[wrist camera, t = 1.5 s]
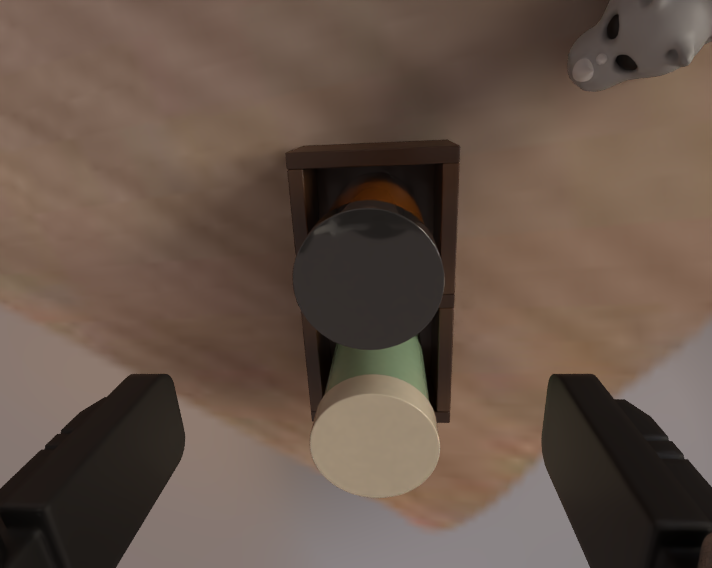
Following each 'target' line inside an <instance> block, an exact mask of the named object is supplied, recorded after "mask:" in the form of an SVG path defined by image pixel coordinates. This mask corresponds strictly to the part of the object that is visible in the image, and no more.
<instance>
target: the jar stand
mask: <svg viewBox="0 0 712 568" xmlns="http://www.w3.org/2000/svg"><path fill="white" fill-rule="evenodd" d="M459 162H460V146H459V145H457V144H455V143H453V142H451V141H449V140H428V141H405V142H382V143H359V144H336V145H312V146H302V147H299V148H297V149H294V150H292V151H289V152H287V153H286V164H287V169H289V170H288V171H287V172H288V182H289V193H290V203H291V213H292V223H293V233H294V243H295V253H296V255H297V253H298V250H299V248H300V246H301V245H302V243H303V241H304V239H305V238H306V236H307V235H308V233H309V232H310V230H311V229H312V228H313V227H314V225H315V224H316V223H317V222H318V221H319V220H320V219H321V218H322V217H323V216H324V215H326V214H327V213H328V211H329V209H330V208H331V206H332V204H333V203H334V201H335V199H336V198H337V196H338V195H339V193H340V191H341V190H342V189H343V188H344V187H345V186H346V185H347V184H348V183H349V182H350V181H352V180H353V179H355V178H357V177H359V176H361V175H364V174H368V173H384V174H389V175H392V176H394V177H396V178H398V179H400V180H401V181H403V182H404V183H405V184H406V185H408V187H409V188H410V189H411V190H412V192H413V193H414V195H415V197H416V199H417V201H418V204H419V207H420V210H421V214H422V217H423V220H424V223H425V226H426V227H427V229H428V230H429V232H430V233H431V235H432V236H433V238H434V240H435V242H436V245H437V248H438V251H439V254H440V257H441V259H442V262H443V267H444V274H445V285H444V293H443V297H442V301H441V303H440V306H439V308H438V310H437V312H436V314H435V316H434V317H433V318H432V320H431V321H430V322H429V324H428V325H427V326H426V327H425V328H424V329H423V330H422V331H421V332H420V336H421V344H422V351H423V358H424V366H425V373H426V380H427V388H428V395H429V402H430V404H431V406H432V408H433V410H434V413H435V416H436V421H437V423H449V422H450V401H451V374H452V347H453V320H454V296H455V295H454V293H455V269H456V242H457V215H458V188H459ZM301 315H302V325H303V335H304V345H305V355H306V365H307V375H308V385H309V395H310V405H311V415H312V421H313V422H314V418H315V414H316V410H317V407H318V405H319V403H320V401H321V400H322V398H323V397H324V394H325V390H326V385H327V381H328V377H329V372H330V368H331V364H332V359H333V355H334V351H335V346H336V342H334V341H332V340H330V339H328V338H327V337H325V336H324V335H322V334H321V333H320V332H318V331H317V330H316V329H315V328H314V327H313V326H312V325H311V324H310V322H309V321H308V320H307V319H306V317H305V316H304V314H303V313H302V311H301Z"/></svg>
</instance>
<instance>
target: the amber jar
mask: <svg viewBox="0 0 712 568" xmlns="http://www.w3.org/2000/svg"><path fill="white" fill-rule="evenodd" d="M444 285H445V274H444V267H443V262H442V259H441V257H440V254H439V251H438V248H437V245H436V242H435V240H434V238H433V236H432V235H431V233H430V232H429V230H428V229H427V227H426V226H425V223H424V220H423V217H422V214H421V210H420V207H419V204H418V201H417V199H416V197H415V195H414V193H413V192H412V190H411V189H410V188H409V187H408V185H406V184H405V183H404V182H403V181H401V180H400V179H398V178H396V177H394V176H392V175H389V174H384V173H368V174H364V175H361V176H359V177H357V178H355V179H353V180H352V181H350V182H349V183H348V184H347V185H346V186H345V187H344V188H343V189H342V190H341V191H340V193H339V195H338V196H337V198H336V199H335V201H334V203H333V204H332V206H331V208H330V209H329V211H328V213H327V214H326V215H324V216H323V217H322V218H321V219H320V220H319V221H318V222H317V223H316V224H315V225H314V227H313V228H312V229H311V230H310V232H309V233H308V235H307V236H306V238H305V239H304V241H303V243H302V245H301V246H300V248H299V250H298V253H297V255H296V258H295V262H294V266H293V288H294V294H295V297H296V300H297V303H298V305H299V307H300V309H301V311H302V313H303V314H304V316H305V317H306V319H307V320H308V321H309V322H310V324H311V325H312V326H313V327H314V328H315V329H316V330H317V331H318V332H320V333H321V334H322V335H324V336H325V337H327V338H328V339H330V340H332V341H334V342H336V343H338V344H341V345H343V346H346V347H350V348H354V349H360V350H380V349H385V348H390V347H393V346H397V345H399V344H401V343H404V342H406V341H408V340H409V339H411V338H413V337H414V336H416V335H417V334H418V333H419V332H421V331H422V330H423V329H424V328H425V327H426V326H427V325H428V324H429V322H430V321H431V320H432V318H433V317H434V316H435V314H436V312H437V310H438V308H439V306H440V303H441V301H442V297H443V293H444Z"/></svg>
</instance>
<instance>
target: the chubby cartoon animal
mask: <svg viewBox="0 0 712 568" xmlns="http://www.w3.org/2000/svg"><path fill="white" fill-rule="evenodd" d="M711 41H712V0H610V1H609V3H608V5H607V7H606V10H605V12H604V14H603V16H602V18H601V20H600V21H599V22H598V23H597V24H596V25H595V26H594V27H592V28H590V29H589V30H587V31H586V32H584V33H583V34H582V35H581V36H580V37H579V38H578V39H577V40H576V41H575V43H574V44H573V45H572V47H571V49H570V52H569V54H568V65H567V68H568V75H569V77H570V79H571V80H572V81H573V83H574V84H576V85H577V86H579V87H580V88H581V89H582V90H584V91H592V92H595V91H601V90H605V89H607V88H610V87H612V86H614V85H616V84H618V83H621V82H623V81H627V80H631V79H639V78H648V77H656V76H661V75H664V74H667V73H670V72H672V71H675V70H676V69H678V68H680V67H684V66H687V65H689V64H690V63H691V61H692V59H693V57H694V56H695V55H696V54H697V53H698V52H699V51H700V49H701V48H702V47H703V45H704V44H707V43H709V42H711Z"/></svg>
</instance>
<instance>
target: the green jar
mask: <svg viewBox="0 0 712 568" xmlns="http://www.w3.org/2000/svg"><path fill="white" fill-rule="evenodd" d="M310 451H311V455H312V458H313V461H314V463H315V465H316V467H317V468H318V470H319V471H320V472H321V474H322V475H323V476H324V477H325V478H326V479H327V480H328V481H330V482H331V483H332V484H334V485H335V486H337V487H338V488H340V489H342V490H344V491H346V492H349V493H351V494H355V495H358V496H363V497H370V498H386V497H393V496H397V495H401V494H404V493H406V492H409V491H411V490H413V489H415V488H416V487H418V486H419V485H421V484H422V483H423V482H424V481H425V480H426V479H427V478H428V477H429V476H430V475H431V473H432V472H433V470H434V469H435V467H436V465H437V462H438V459H439V455H440V440H439V434H438V427H437V421H436V416H435V413H434V410H433V408H432V406H431V404H430V402H429V395H428V388H427V380H426V373H425V366H424V358H423V351H422V344H421V336H420V332H419V333H418V334H417V335H416V336H414V337H413V338H411V339H409V340H408V341H406V342H404V343H401V344H399V345H397V346H393V347H390V348H385V349H380V350H360V349H354V348H350V347H346V346H343V345H341V344H338V343H336V346H335V351H334V355H333V359H332V364H331V368H330V372H329V377H328V381H327V385H326V390H325V394H324V397H323V398H322V400H321V401H320V403H319V405H318V407H317V410H316V414H315V418H314V422H313V426H312V430H311V435H310Z"/></svg>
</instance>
